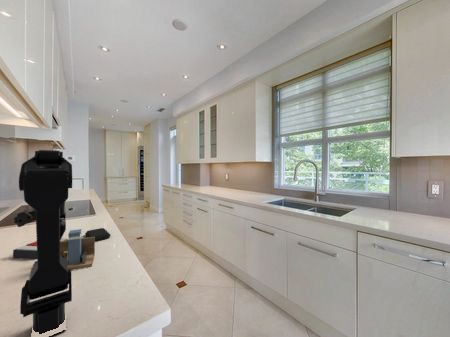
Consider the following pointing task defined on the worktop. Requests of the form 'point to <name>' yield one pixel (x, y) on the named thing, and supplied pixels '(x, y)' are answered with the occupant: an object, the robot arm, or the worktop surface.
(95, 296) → the worktop surface
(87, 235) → the carrying case or bag
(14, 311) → the worktop surface
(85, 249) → the stand
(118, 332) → the worktop surface
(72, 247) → the blue tall block
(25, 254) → the calculator
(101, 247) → the worktop surface
